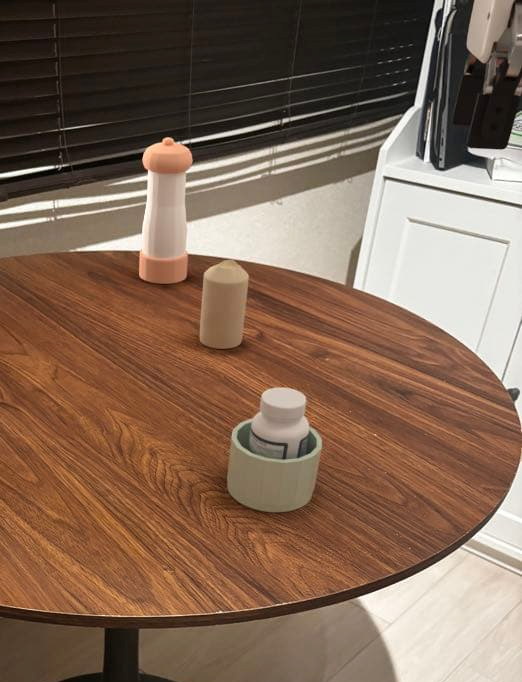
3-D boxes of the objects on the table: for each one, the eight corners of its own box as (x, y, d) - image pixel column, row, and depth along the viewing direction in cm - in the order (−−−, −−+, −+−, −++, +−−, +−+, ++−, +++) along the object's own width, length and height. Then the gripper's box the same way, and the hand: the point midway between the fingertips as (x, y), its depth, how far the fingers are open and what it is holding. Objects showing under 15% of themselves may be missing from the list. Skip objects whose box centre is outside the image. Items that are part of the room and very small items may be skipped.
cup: (313, 469, 80) (322, 421, 77) (312, 517, 74) (322, 466, 71) (230, 460, 82) (235, 412, 78) (222, 506, 75) (228, 456, 72)
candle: (209, 328, 108) (215, 253, 101) (248, 337, 106) (256, 260, 99) (192, 344, 104) (197, 266, 98) (232, 352, 102) (240, 273, 96)
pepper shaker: (143, 265, 127) (146, 131, 115) (189, 269, 126) (197, 133, 114) (135, 282, 121) (137, 142, 109) (183, 285, 120) (191, 145, 108)
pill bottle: (283, 461, 80) (295, 379, 75) (311, 489, 76) (326, 405, 71) (235, 471, 79) (244, 388, 73) (261, 500, 75) (272, 415, 69)
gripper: (626, -117, 54) (542, 161, 64) (565, -111, 67) (504, 118, 78) (507, -117, 55) (444, 156, 65) (470, -110, 68) (423, 115, 79)
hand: (477, 135), depth 71 cm, fingers open, 9 cm apart
